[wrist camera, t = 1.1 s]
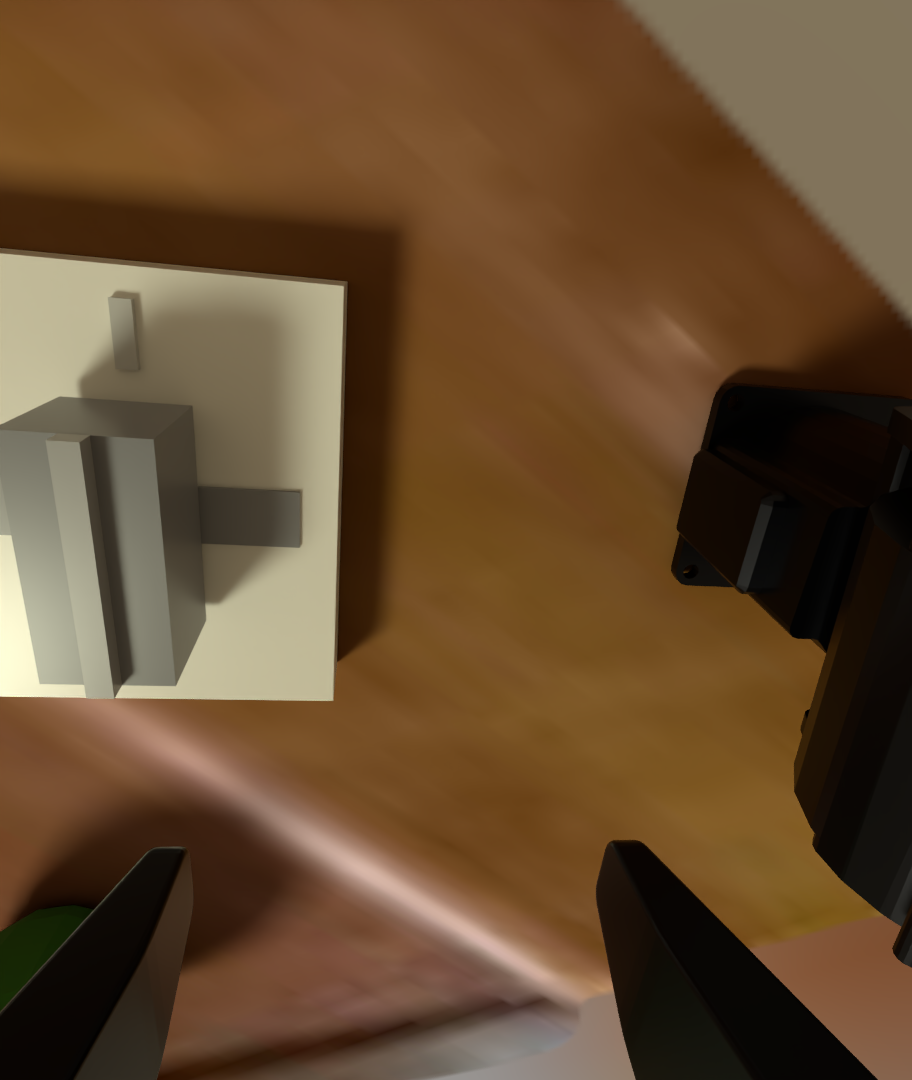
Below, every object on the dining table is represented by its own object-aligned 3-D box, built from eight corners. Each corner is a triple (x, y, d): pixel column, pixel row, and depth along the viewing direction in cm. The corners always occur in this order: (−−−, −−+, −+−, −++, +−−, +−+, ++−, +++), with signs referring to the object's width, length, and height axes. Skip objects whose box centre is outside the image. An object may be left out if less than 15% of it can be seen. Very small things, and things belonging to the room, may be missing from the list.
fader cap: (192, 405, 16) (145, 446, 13) (206, 620, 18) (169, 699, 15) (59, 396, 16) (-24, 435, 12) (91, 616, 18) (29, 697, 15)
